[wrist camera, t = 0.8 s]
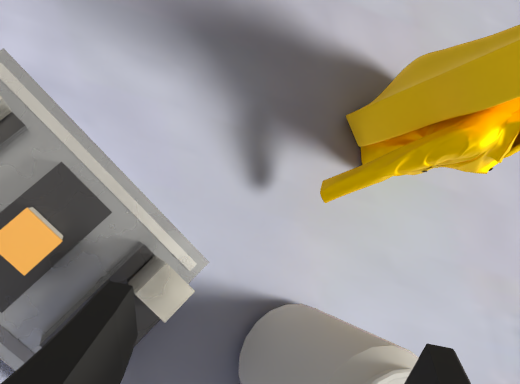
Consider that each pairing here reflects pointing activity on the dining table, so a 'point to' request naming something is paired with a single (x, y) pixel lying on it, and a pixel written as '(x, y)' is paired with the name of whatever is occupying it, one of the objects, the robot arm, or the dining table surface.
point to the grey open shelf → (77, 225)
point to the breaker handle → (28, 240)
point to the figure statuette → (440, 115)
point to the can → (318, 351)
